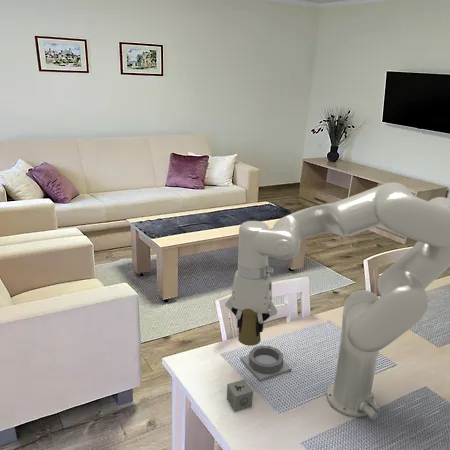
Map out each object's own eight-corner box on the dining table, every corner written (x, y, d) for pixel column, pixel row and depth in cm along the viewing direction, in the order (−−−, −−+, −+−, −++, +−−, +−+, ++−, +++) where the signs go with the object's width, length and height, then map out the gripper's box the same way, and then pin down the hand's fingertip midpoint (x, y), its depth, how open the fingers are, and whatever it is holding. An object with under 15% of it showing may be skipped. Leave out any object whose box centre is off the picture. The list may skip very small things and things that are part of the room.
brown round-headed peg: (247, 330, 119) (248, 295, 115) (265, 338, 115) (267, 302, 112) (233, 339, 114) (234, 303, 111) (251, 348, 111) (253, 311, 107)
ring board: (291, 371, 125) (292, 361, 124) (259, 382, 120) (260, 372, 119) (270, 350, 134) (271, 341, 133) (240, 360, 129) (240, 350, 128)
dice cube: (226, 399, 114) (227, 384, 112) (243, 394, 116) (244, 379, 114) (234, 412, 109) (235, 396, 108) (252, 406, 111) (253, 391, 110)
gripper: (287, 268, 109) (283, 330, 115) (225, 259, 114) (224, 319, 120) (282, 281, 102) (278, 345, 108) (216, 270, 107) (215, 333, 113)
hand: (249, 331), depth 114 cm, fingers closed on brown round-headed peg, 4 cm apart
